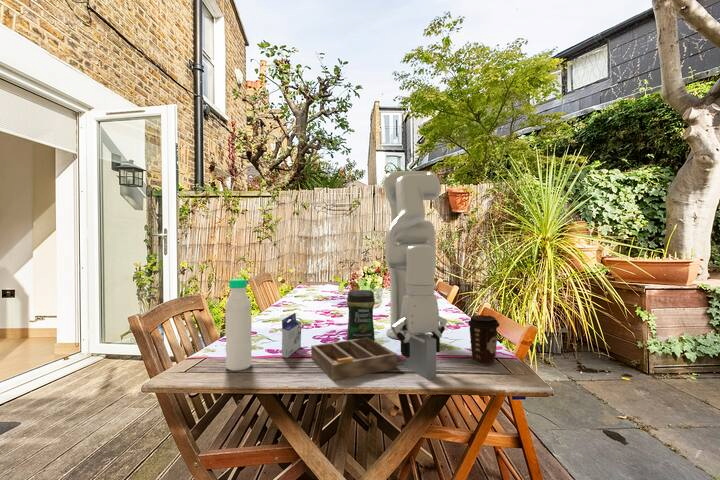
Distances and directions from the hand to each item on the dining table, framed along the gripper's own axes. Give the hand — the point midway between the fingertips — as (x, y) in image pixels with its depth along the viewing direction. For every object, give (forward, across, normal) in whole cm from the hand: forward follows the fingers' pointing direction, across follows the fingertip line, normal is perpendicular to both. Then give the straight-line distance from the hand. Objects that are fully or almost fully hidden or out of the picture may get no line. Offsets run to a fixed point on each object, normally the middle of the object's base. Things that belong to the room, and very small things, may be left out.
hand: (420, 353), depth 98 cm
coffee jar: (+5, +4, -30) cm, 30 cm away
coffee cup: (+5, -21, +2) cm, 22 cm away
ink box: (+5, +27, -32) cm, 42 cm away
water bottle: (+5, +44, -26) cm, 51 cm away
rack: (+5, +14, -14) cm, 21 cm away
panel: (+5, 0, 0) cm, 5 cm away
